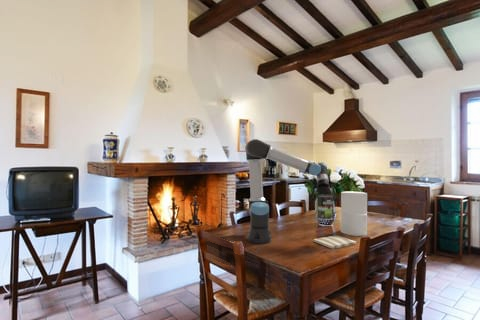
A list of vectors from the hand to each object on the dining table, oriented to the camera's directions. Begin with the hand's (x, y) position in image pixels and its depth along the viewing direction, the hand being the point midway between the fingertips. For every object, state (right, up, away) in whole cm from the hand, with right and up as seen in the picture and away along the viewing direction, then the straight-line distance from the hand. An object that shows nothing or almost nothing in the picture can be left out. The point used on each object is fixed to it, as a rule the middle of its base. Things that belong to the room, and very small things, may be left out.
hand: (325, 210), depth 179 cm
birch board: (+7, -21, +3) cm, 22 cm away
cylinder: (+29, -21, +28) cm, 45 cm away
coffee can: (+1, -6, +3) cm, 6 cm away
